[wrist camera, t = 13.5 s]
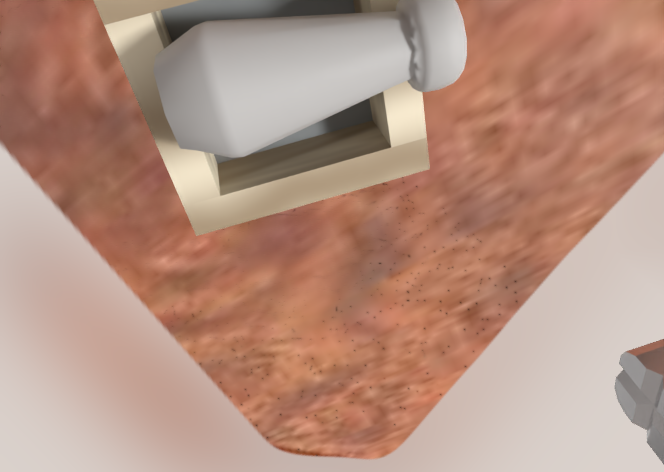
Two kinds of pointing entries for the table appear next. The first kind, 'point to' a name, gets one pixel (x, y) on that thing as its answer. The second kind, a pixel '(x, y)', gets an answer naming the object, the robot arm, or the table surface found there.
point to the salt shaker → (299, 70)
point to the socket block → (281, 156)
